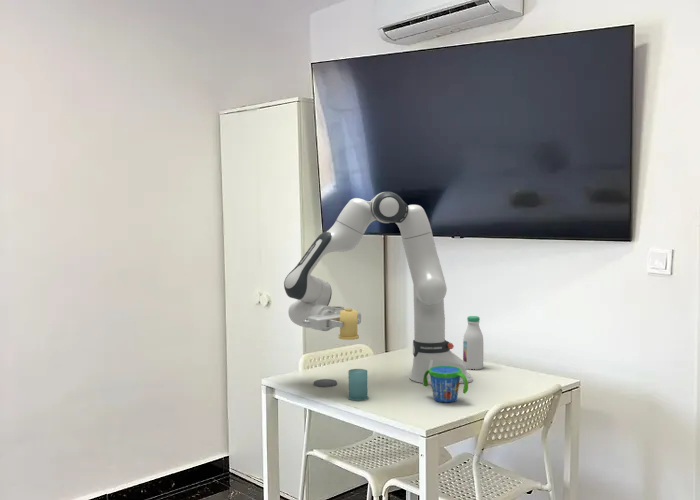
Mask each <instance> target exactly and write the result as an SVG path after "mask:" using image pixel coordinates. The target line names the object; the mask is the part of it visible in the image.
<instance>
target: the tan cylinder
mask: <svg viewBox="0 0 700 500" xmlns="http://www.w3.org/2000/svg"><path fill="white" fill-rule="evenodd" d="M344 309H345V310H341V311H340V321H343V322H344V327H339V334H338V339H340V340H343V341H344V340H345V341H346V340H347V341H349V340H350V341H351V340H352V341H353V340H358V339H360V335H359V334H358V324H357V312H358V310H356V309H353V308H344Z"/></svg>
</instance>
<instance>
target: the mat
mask: <svg viewBox="0 0 700 500" xmlns="http://www.w3.org/2000/svg"><path fill="white" fill-rule="evenodd" d="M313 385H314V386H315V387H319V388H320V387H321V388H330V387H335V386H337V385H338V381H337V380H335V379H330V378H321V379H316V380H314V381H313Z"/></svg>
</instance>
